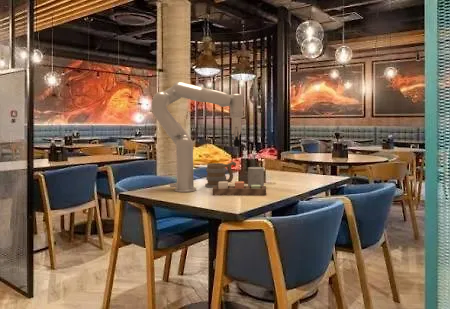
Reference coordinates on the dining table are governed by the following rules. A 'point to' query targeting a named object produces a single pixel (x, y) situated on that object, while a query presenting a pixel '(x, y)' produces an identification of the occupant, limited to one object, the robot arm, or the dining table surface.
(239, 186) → the terracotta key
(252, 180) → the grey stone cylinder
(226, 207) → the dining table surface
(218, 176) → the tankard
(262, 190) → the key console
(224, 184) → the cream key
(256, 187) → the sage key
